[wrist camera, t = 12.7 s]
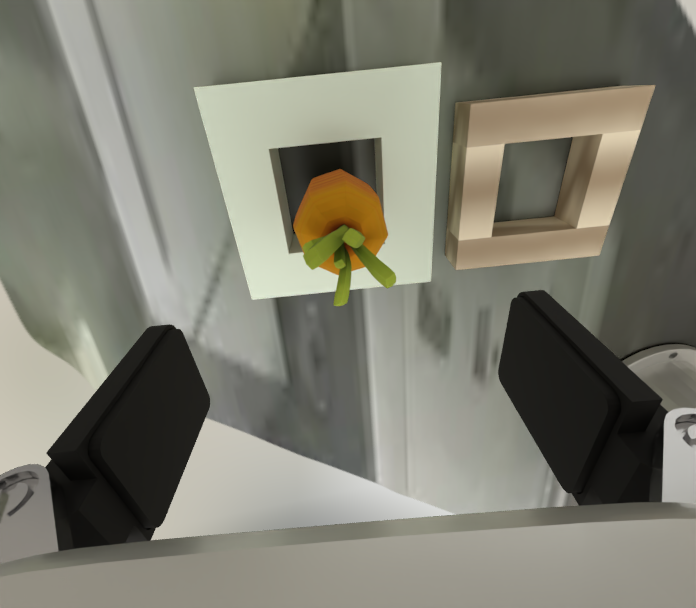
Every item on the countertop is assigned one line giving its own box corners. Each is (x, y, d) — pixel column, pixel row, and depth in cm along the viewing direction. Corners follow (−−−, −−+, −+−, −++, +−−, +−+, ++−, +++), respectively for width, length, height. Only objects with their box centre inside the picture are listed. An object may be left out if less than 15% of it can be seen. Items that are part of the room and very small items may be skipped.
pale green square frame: (419, 260, 30) (430, 281, 27) (260, 276, 30) (252, 299, 27) (424, 66, 23) (441, 62, 19) (213, 88, 23) (193, 87, 19)
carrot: (378, 190, 27) (434, 275, 14) (330, 231, 28) (341, 342, 15) (337, 136, 24) (358, 177, 12) (287, 183, 26) (257, 265, 13)
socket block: (575, 241, 30) (599, 255, 27) (444, 254, 30) (455, 270, 27) (620, 85, 24) (655, 84, 21) (455, 102, 24) (470, 104, 21)
